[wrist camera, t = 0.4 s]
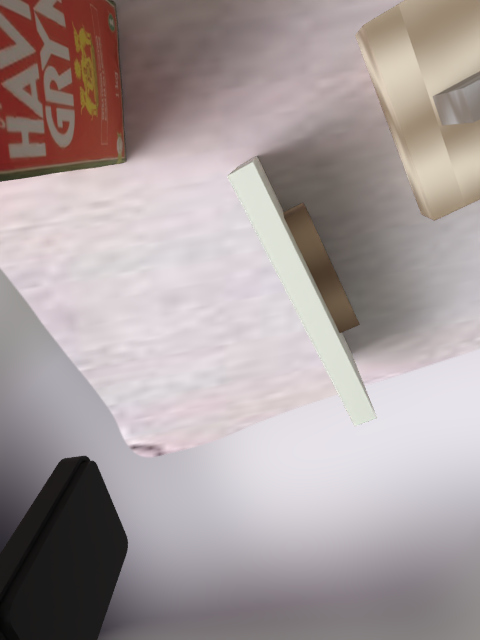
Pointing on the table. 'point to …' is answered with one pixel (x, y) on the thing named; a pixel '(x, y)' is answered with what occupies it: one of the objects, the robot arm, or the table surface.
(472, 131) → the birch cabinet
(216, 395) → the table surface
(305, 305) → the wall board
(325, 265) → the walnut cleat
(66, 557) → the robot arm
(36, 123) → the food packaging
